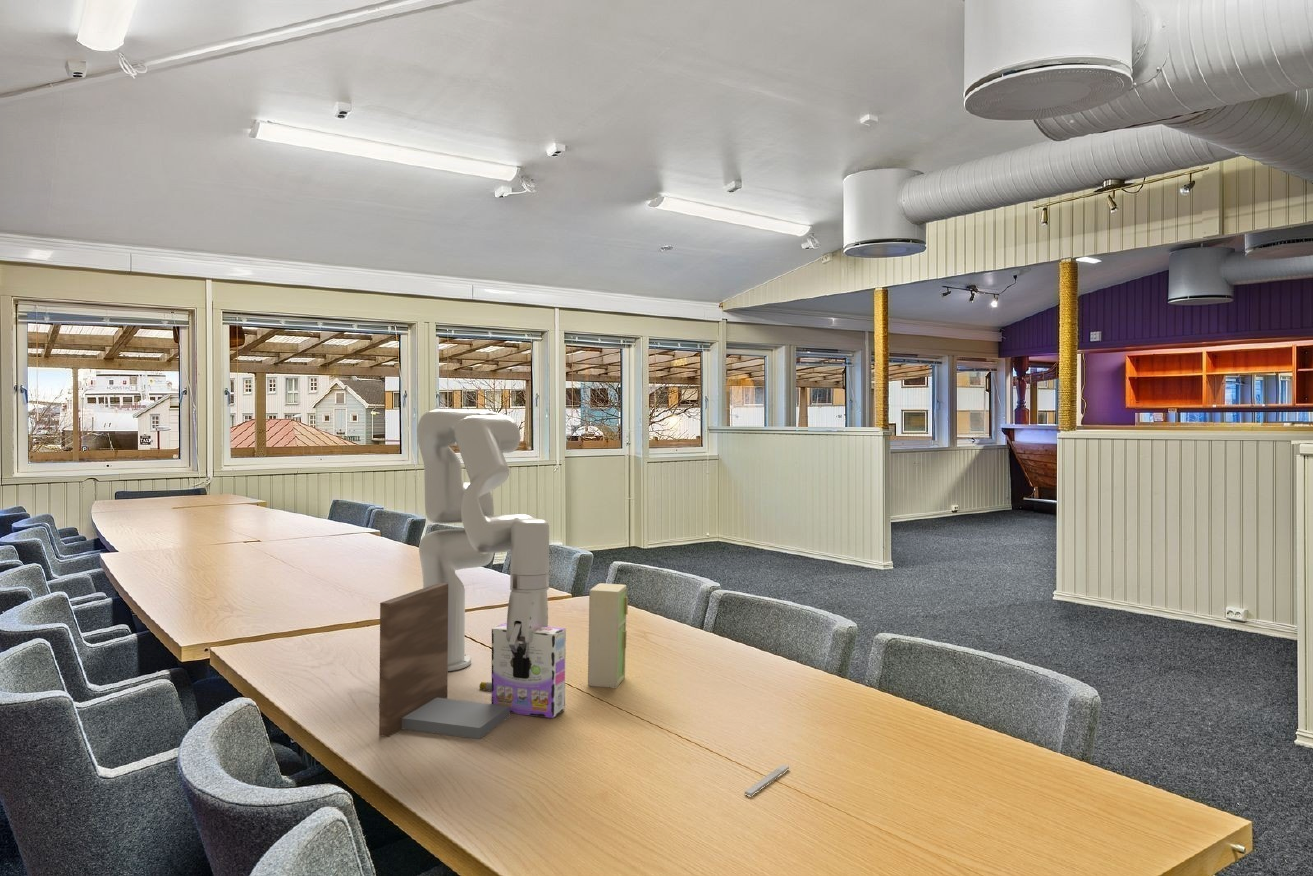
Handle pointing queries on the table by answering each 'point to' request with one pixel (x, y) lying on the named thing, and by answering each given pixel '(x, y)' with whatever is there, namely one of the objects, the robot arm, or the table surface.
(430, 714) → the cleat ledge
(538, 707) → the candy box
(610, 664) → the toy refrigerator
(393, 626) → the wall board
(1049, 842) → the table surface
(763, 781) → the ruler
